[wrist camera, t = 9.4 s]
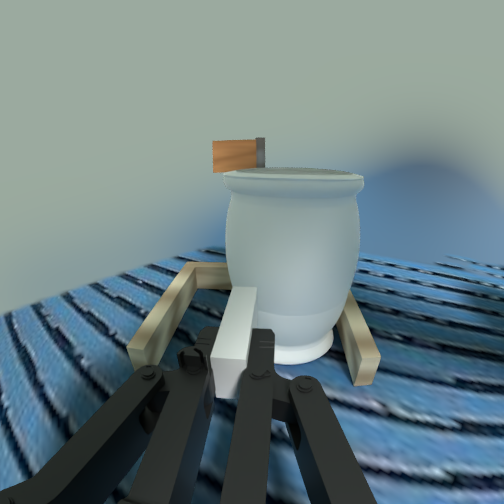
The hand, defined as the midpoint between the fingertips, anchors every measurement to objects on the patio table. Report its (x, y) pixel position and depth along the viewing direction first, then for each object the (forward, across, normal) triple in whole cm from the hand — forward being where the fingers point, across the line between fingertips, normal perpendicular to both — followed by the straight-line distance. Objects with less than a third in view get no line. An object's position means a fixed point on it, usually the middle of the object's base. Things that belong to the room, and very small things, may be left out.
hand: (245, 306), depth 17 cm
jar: (+6, +3, -7) cm, 10 cm away
